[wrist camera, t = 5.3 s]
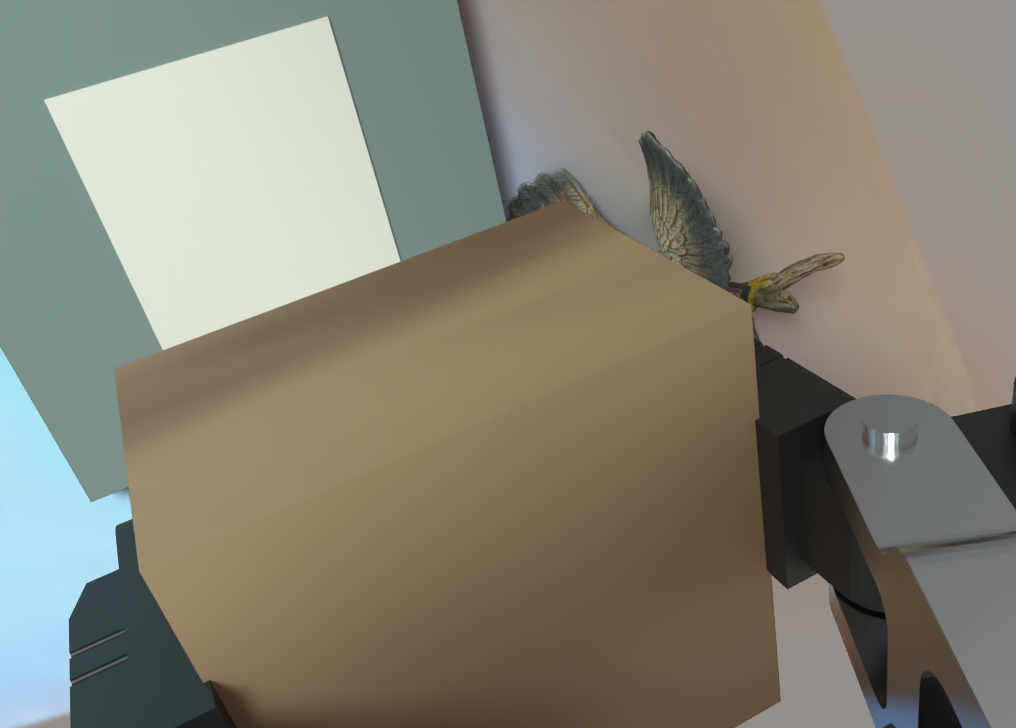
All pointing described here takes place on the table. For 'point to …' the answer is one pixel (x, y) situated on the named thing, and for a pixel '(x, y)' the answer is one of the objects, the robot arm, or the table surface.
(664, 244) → the eagle figurine
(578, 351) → the walnut brick
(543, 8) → the table surface
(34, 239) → the board
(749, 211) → the table surface
